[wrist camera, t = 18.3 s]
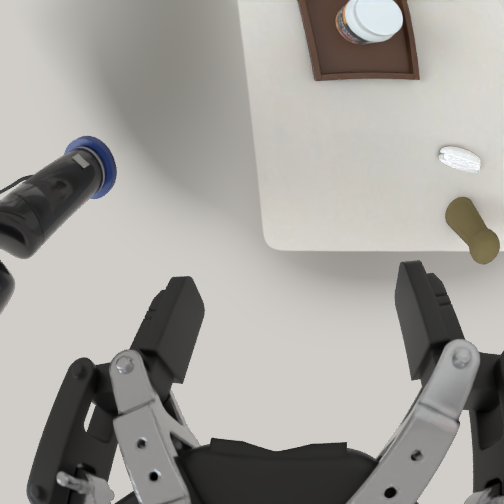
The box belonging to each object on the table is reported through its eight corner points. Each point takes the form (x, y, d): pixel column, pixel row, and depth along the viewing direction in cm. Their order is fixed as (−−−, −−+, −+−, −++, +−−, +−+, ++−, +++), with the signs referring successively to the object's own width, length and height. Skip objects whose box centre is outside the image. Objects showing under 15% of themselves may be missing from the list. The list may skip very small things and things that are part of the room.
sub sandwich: (473, 170, 33) (482, 178, 30) (434, 159, 33) (441, 167, 31) (478, 152, 31) (487, 159, 29) (438, 140, 32) (446, 146, 29)
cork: (476, 197, 35) (510, 235, 26) (469, 227, 39) (497, 269, 30) (448, 196, 36) (480, 236, 28) (442, 228, 40) (468, 272, 31)
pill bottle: (326, 14, 24) (337, -2, 16) (364, -1, 22) (387, -19, 14) (350, 51, 27) (370, 48, 19) (387, 36, 24) (418, 31, 16)
